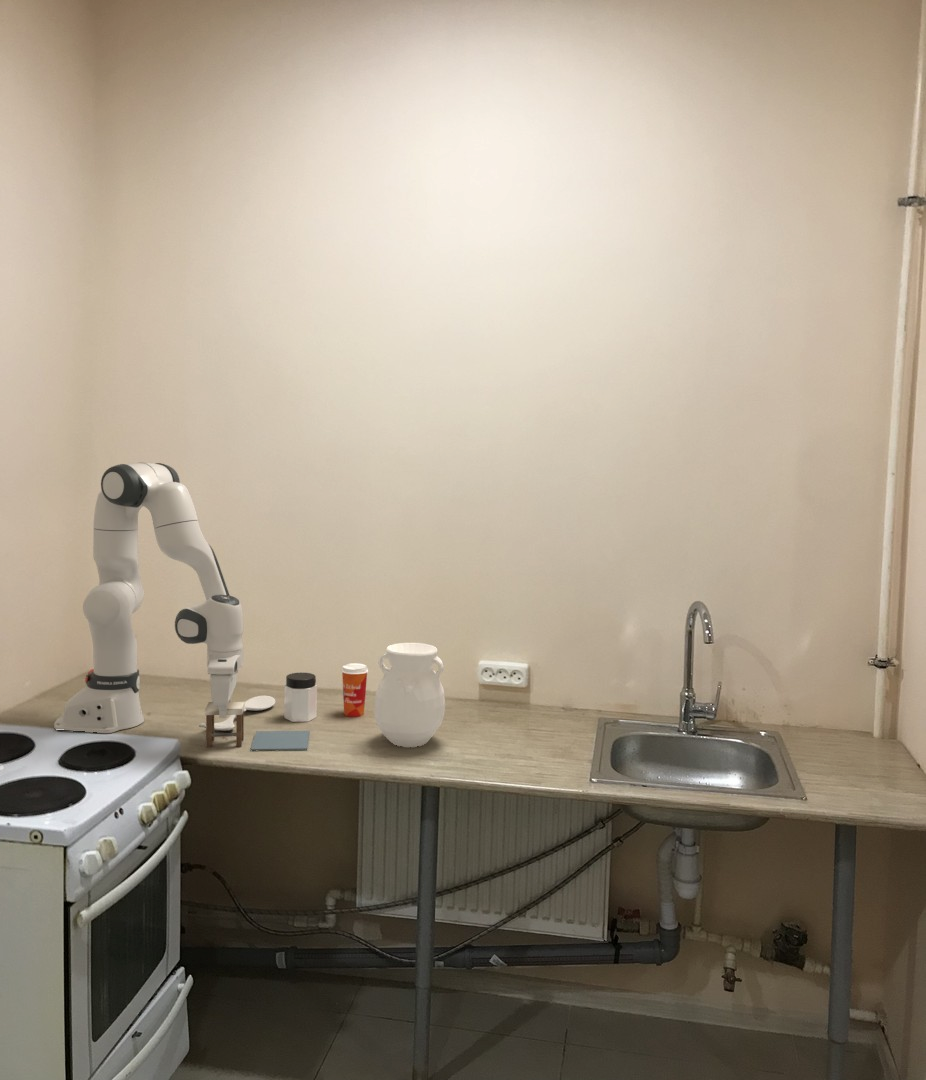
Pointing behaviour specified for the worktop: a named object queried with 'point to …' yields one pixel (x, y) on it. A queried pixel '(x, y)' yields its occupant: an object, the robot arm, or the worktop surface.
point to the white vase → (410, 694)
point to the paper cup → (354, 689)
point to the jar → (300, 697)
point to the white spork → (250, 704)
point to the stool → (232, 709)
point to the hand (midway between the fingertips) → (225, 712)
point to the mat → (280, 740)
